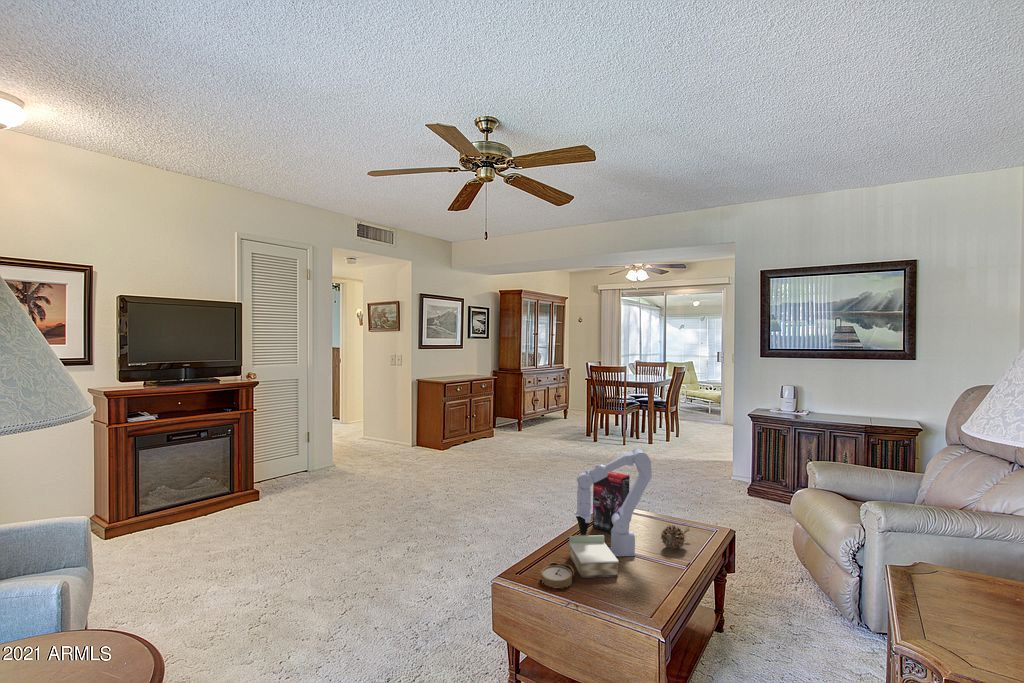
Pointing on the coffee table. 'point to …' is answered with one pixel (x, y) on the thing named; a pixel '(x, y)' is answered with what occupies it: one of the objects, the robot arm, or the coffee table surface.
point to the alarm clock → (557, 575)
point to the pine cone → (673, 536)
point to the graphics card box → (608, 499)
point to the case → (594, 568)
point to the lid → (591, 549)
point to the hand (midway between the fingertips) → (583, 534)
